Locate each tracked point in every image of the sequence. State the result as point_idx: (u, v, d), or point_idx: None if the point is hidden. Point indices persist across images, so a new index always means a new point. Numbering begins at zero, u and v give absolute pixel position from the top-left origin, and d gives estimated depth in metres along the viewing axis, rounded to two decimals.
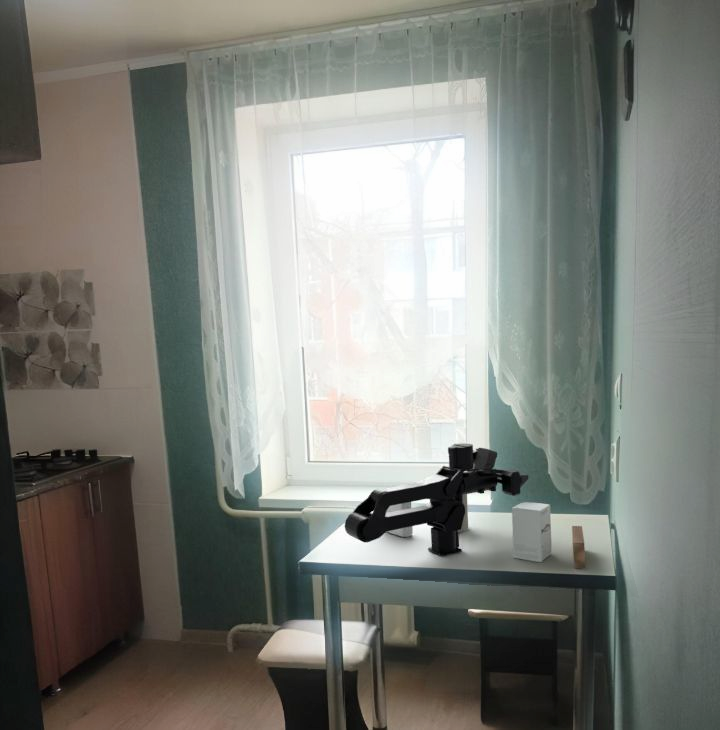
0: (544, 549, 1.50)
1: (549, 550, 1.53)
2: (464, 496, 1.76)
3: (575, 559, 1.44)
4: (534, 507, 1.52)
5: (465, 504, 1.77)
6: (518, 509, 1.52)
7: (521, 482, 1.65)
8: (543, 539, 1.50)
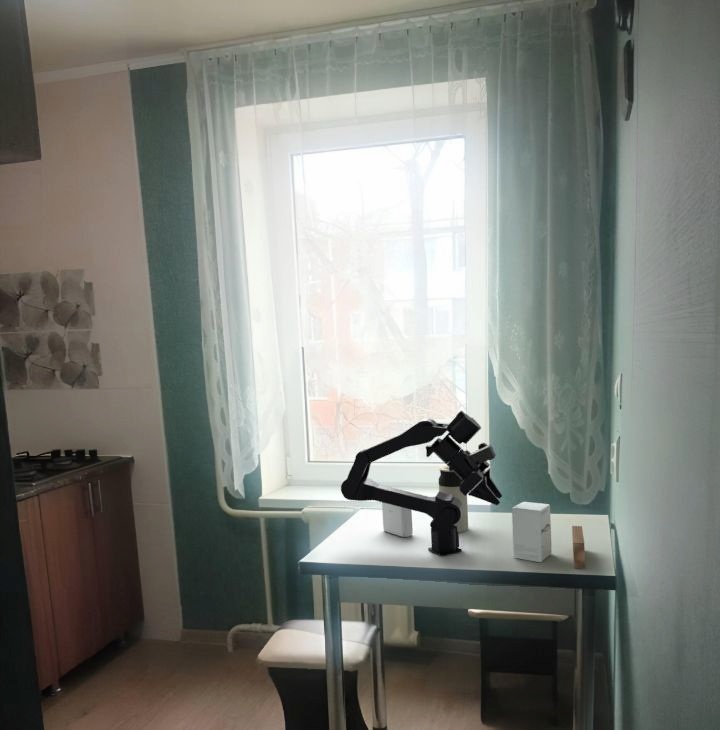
0: (544, 549, 1.50)
1: (549, 550, 1.53)
2: (464, 496, 1.76)
3: (575, 559, 1.44)
4: (534, 507, 1.52)
5: (465, 504, 1.77)
6: (518, 509, 1.52)
7: (485, 496, 1.52)
8: (543, 539, 1.50)
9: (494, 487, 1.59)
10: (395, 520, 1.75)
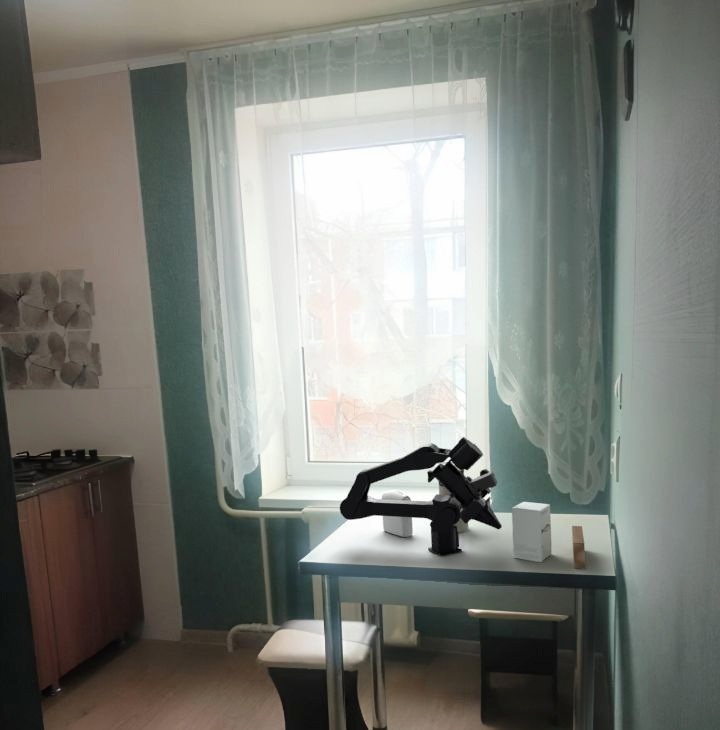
0: (544, 549, 1.50)
1: (549, 550, 1.53)
2: None
3: (575, 559, 1.44)
4: (534, 507, 1.52)
5: None
6: (518, 509, 1.52)
7: (487, 521, 1.55)
8: (543, 539, 1.50)
9: None
10: (395, 520, 1.75)
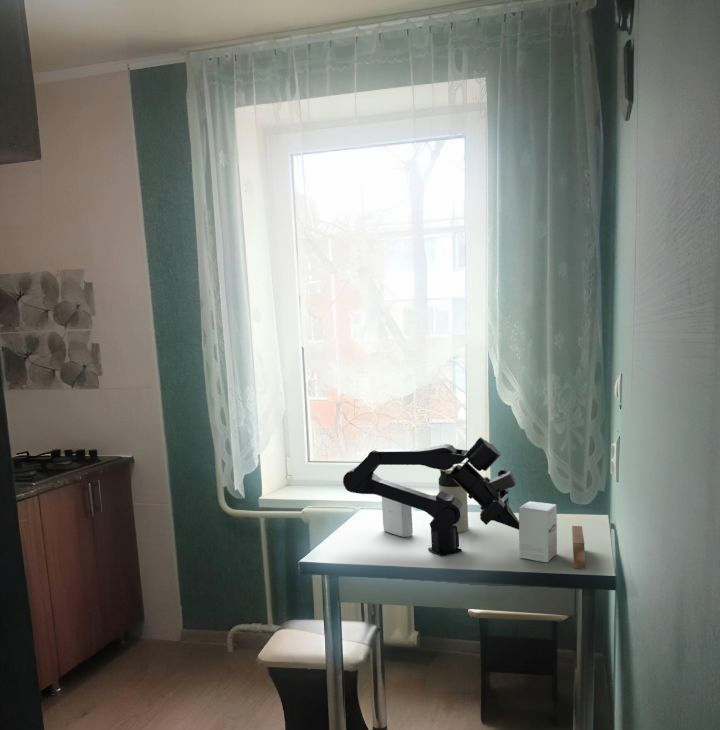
0: (551, 549, 1.50)
1: (554, 550, 1.53)
2: (464, 496, 1.76)
3: (575, 559, 1.44)
4: (541, 507, 1.51)
5: (465, 504, 1.77)
6: (525, 509, 1.51)
7: (507, 521, 1.54)
8: (550, 539, 1.49)
9: None
10: (395, 520, 1.75)
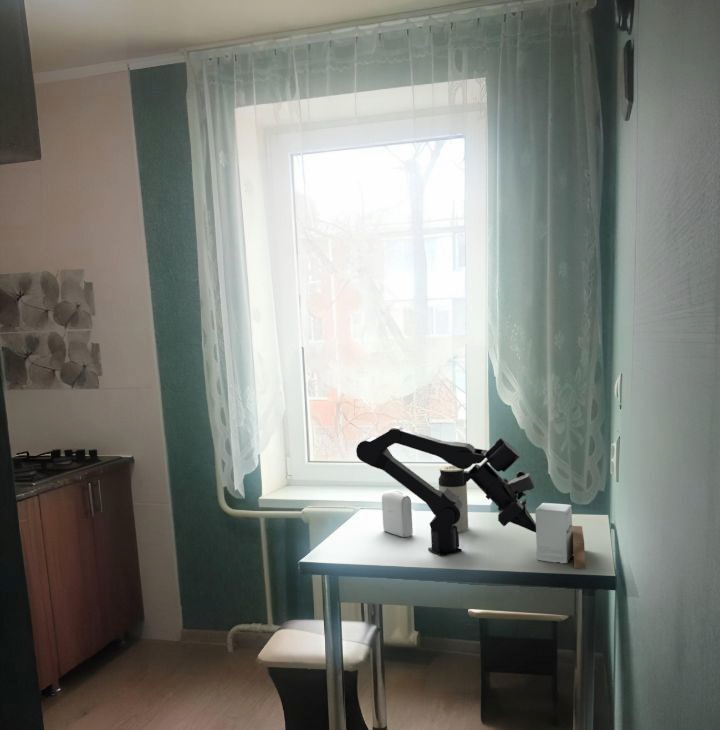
0: (569, 550, 1.49)
1: (571, 551, 1.51)
2: (464, 496, 1.76)
3: (575, 559, 1.44)
4: (558, 508, 1.50)
5: (465, 504, 1.77)
6: (542, 510, 1.49)
7: (524, 523, 1.52)
8: (568, 540, 1.48)
9: None
10: (395, 520, 1.75)
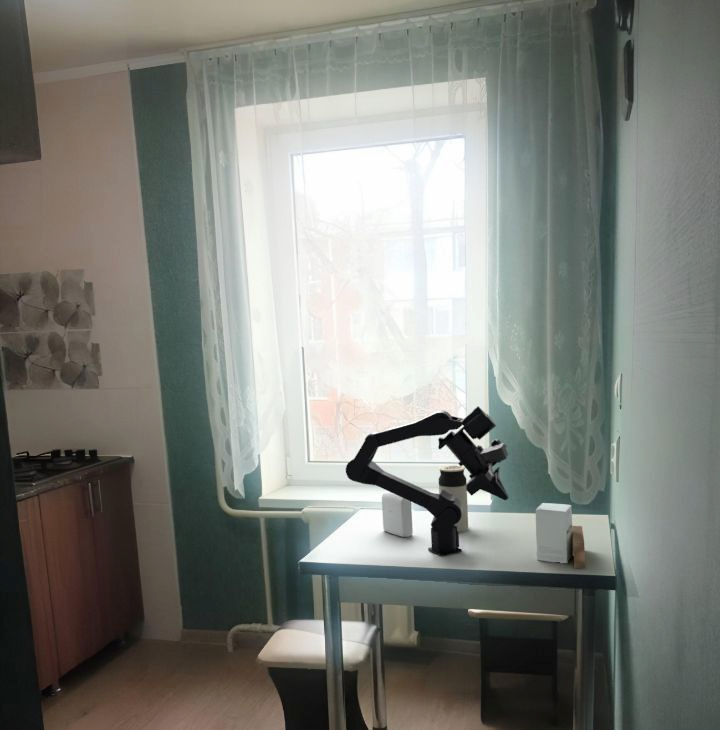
0: (569, 550, 1.49)
1: (571, 551, 1.51)
2: (464, 496, 1.76)
3: (575, 559, 1.44)
4: (558, 508, 1.50)
5: (465, 504, 1.77)
6: (542, 510, 1.49)
7: (494, 491, 1.56)
8: (568, 540, 1.48)
9: None
10: (395, 520, 1.75)
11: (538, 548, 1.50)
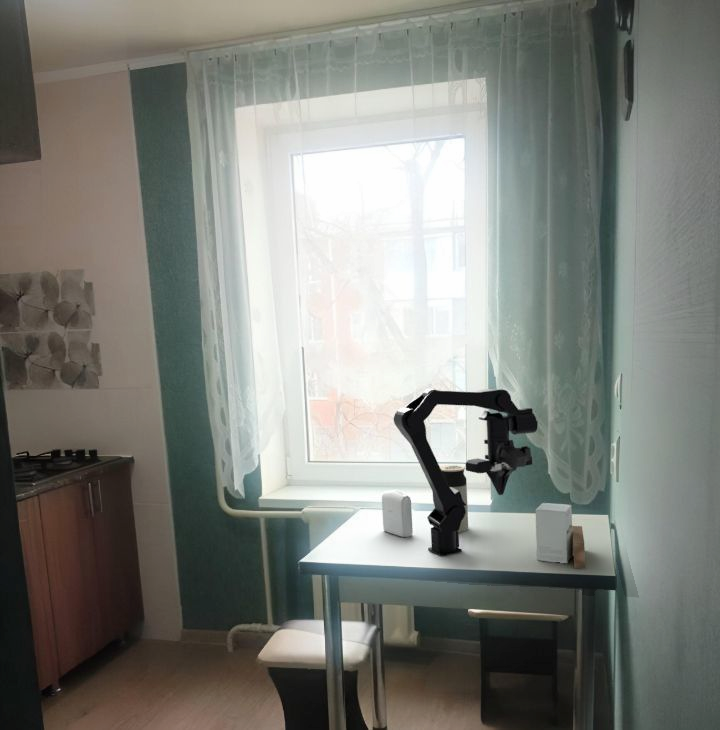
0: (569, 550, 1.49)
1: (571, 551, 1.51)
2: (464, 496, 1.76)
3: (575, 559, 1.44)
4: (558, 508, 1.50)
5: None
6: (542, 510, 1.49)
7: (494, 481, 1.64)
8: (568, 540, 1.48)
9: (502, 484, 1.64)
10: (395, 520, 1.75)
11: (538, 548, 1.50)
